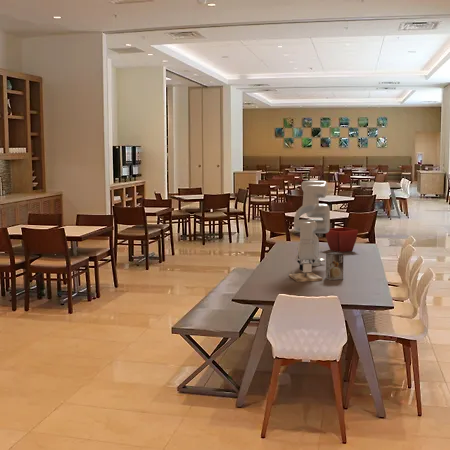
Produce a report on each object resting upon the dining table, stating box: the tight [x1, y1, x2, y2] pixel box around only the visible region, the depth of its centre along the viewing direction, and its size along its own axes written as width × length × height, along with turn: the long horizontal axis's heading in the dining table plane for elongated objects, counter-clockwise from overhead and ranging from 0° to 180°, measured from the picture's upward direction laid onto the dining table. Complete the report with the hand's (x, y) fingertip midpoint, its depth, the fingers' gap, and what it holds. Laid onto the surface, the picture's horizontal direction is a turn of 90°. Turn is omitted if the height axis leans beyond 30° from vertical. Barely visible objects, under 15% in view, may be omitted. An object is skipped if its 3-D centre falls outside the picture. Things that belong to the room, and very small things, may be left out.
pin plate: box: [288, 272, 323, 283], centre depth 385 cm, size 16×16×6 cm
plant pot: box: [324, 226, 359, 253], centre depth 481 cm, size 19×19×17 cm
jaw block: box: [299, 261, 313, 273], centre depth 384 cm, size 5×7×5 cm
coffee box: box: [325, 251, 344, 281], centre depth 383 cm, size 9×6×16 cm
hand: (305, 270), depth 384 cm, fingers closed on jaw block, 5 cm apart
